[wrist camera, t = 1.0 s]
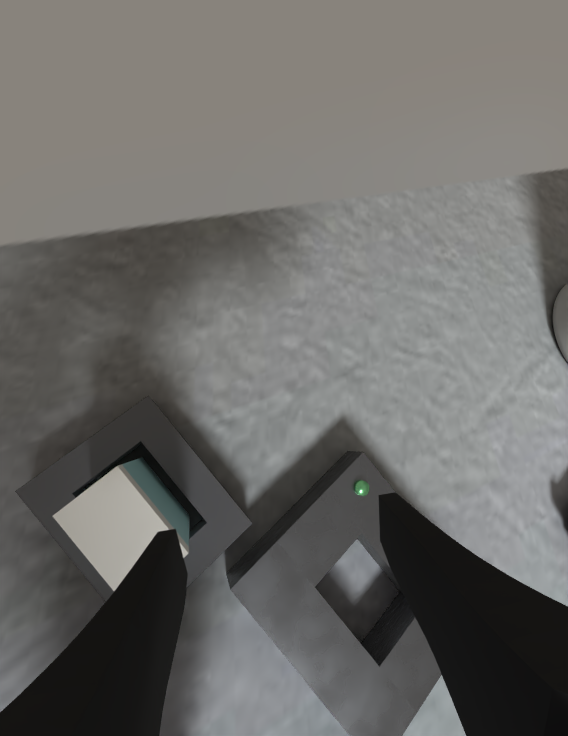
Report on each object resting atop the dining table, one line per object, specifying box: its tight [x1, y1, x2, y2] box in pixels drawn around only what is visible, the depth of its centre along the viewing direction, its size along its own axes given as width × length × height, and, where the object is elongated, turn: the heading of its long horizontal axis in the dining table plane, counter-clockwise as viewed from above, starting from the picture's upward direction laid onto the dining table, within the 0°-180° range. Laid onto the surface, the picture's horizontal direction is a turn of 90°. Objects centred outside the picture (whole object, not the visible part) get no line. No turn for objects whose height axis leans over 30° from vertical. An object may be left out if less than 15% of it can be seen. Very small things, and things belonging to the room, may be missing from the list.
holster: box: [15, 396, 252, 602], centre depth 21 cm, size 8×10×2 cm
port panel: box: [227, 451, 442, 736], centre depth 23 cm, size 12×14×3 cm
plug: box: [53, 457, 190, 591], centre depth 18 cm, size 3×5×8 cm, turn 40°
